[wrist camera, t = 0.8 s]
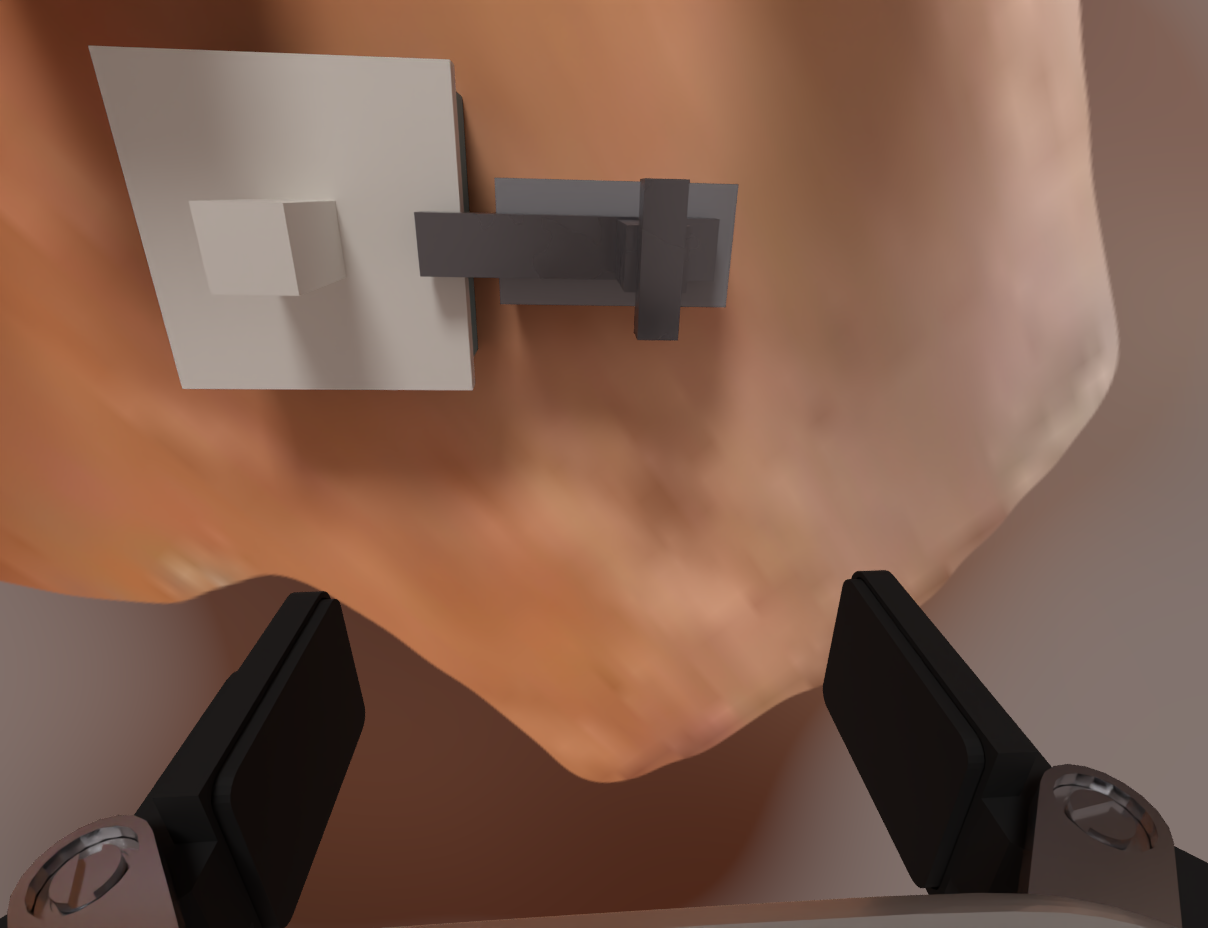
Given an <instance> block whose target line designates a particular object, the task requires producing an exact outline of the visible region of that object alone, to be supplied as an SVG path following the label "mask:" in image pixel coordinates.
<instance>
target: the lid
mask: <svg viewBox="0 0 1208 928" xmlns="http://www.w3.org/2000/svg"><path fill="white" fill-rule="evenodd" d="M88 47H89V51H90V55H91V58H92V62H93V65H94V69H95V73H96V76H97V80H98V84H99V87H100V91H101V95H102V98H103V102H104V105H105V109H106V113H107V116H108V120H109V124H110V127H111V131H112V135H113V138H114V142H115V145H116V149H117V153H118V156H119V160H120V164H121V167H122V171H123V175H124V178H125V182H126V185H127V189H128V193H129V196H130V200H131V204H132V207H133V211H134V215H135V218H136V222H137V225H138V229H139V233H140V236H141V240H142V244H143V247H144V251H145V255H146V258H147V262H148V265H149V269H150V273H151V276H152V280H153V284H154V287H155V291H156V295H157V298H158V302H159V305H160V309H161V313H162V316H163V320H164V324H165V327H166V331H167V335H168V338H169V342H170V345H171V349H172V353H173V356H174V360H175V364H176V367H177V371H178V375H179V378H180V382H181V385H182V389H315V390H473V388H474V386H475V370H474V355H473V340H472V325H471V310H470V295H469V280H468V277H420V269H419V259H418V249H417V239H416V228H415V218H414V212H418V211H437V212H464V205H463V190H462V175H461V160H460V145H459V130H458V115H457V100H456V85H455V70H454V64H453V63H452V62H451V61H450V60H446V59H421V58H395V57H369V56H344V55H318V54H292V53H267V52H241V51H215V50H190V49H164V48H138V47H113V46H88Z"/></svg>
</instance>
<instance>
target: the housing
mask: <svg viewBox="0 0 1208 928" xmlns="http://www.w3.org/2000/svg"><path fill="white" fill-rule="evenodd" d="M456 100H457V115H458V130H459V145H460V160H461V175H462V190H463V205H464V212H469V198H468V182H467V166H466V150H465V134H464V118H463V103H462V96H461V95H459V94H458V93H457V92H456ZM737 193H738V184H707V183H690V184H689V197H688V210H687V217H692V218H716V219H720V222H719V233H718V243H717V254H716V264H715V275H714V282H713V281H687V290H686V293H681V304H680V307H726V298H727V289H728V279H729V269H730V260H731V250H732V241H733V231H734V222H735V212H736V203H737ZM495 197H496V213H522V214H565V215H607V216H639V201H640V182H633V181H596V180H559V179H522V178H495ZM468 280H469V295H470V310H471V325H472V340H473V355H475V353H476V352H477V350H478V340H477V324H476V309H475V293H474V277H468ZM499 283H500V304H528V305H598V306H635V292H624V291H623V289H622V288H621V286H620V284H619V282H618V281H617V280H595V279H536V278H499Z"/></svg>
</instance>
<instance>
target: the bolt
mask: <svg viewBox="0 0 1208 928" xmlns="http://www.w3.org/2000/svg"><path fill="white" fill-rule="evenodd" d="M689 184H690V180H686V179H649V178H644V179H640V201H639V216H607V215H565V214H522V213H479V212H437V211H418V212H414V218H415V228H416V239H417V249H418V259H419V269H420V277H476V278H536V279H595V280H617V281H618V282H619V284H620V286H621V288H622V289H623V291H624V292H635V315H634V334H635V336H636V338H637V340H678V331H679V318H680V304H681V293H686V290H687V281H713V282H714V275H715V264H716V254H717V243H718V233H719V222H720V219H716V218H692V217H687V210H688V197H689Z"/></svg>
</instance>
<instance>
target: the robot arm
mask: <svg viewBox="0 0 1208 928" xmlns="http://www.w3.org/2000/svg"><path fill="white" fill-rule="evenodd" d="M823 696H824V700H825V704H826V706H827V708H828V710H829V712H830V715H831V716H832V718H833V721H834V723H835V725H836V727H837V729H838V731H839V733H840V735H841V737H842V739H843V741H844V743H845V745H846V747H847V749H848V751H849V753H850V755H851V757H852V759H853V761H854V763H855V765H856V767H857V769H858V771H859V773H860V775H861V777H862V779H863V781H864V783H865V785H866V788H867V789H868V791H869V793H870V796H871V798H872V800H873V802H874V804H875V806H876V808H877V810H878V812H879V814H880V816H881V818H882V820H883V822H884V824H885V826H886V828H887V830H888V832H889V834H890V836H891V838H892V840H893V842H894V844H895V846H896V848H897V850H898V852H899V854H900V857H901V859H902V861H903V863H904V865H905V867H906V869H907V871H908V873H909V875H910V877H911V878H912V880H913V882H914V883H915V884H916V885H917V886H918V887H920V888H926V890H927V892H928V894H929V895H910V896H884V897H865V898H847V899H830V900H812V901H795V902H778V903H761V904H742V905H725V906H709V907H694V908H678V909H661V910H645V911H629V912H614V913H599V914H582V915H566V916H551V917H536V918H520V919H506V920H491V921H477V922H462V923H450V924H449V923H448V924H434V925H419V926H405V927H391V928H1208V863H1207V862H1205V861H1203V860H1201V859H1199V858H1197V857H1195V856H1193V855H1191V854H1189V853H1187V852H1185V851H1183V850H1181V849H1179V848H1177V847H1175V846H1174V842H1173V839H1172V835H1171V832H1170V830H1169V827H1168V825H1167V824H1166V823H1165V821H1164V819H1163V818H1162V817H1161V815H1160V814H1159V812H1158V811H1157V810H1156V809H1155V808H1154V807H1153V806H1152V805H1151V804H1150V803H1149V802H1148V801H1147V800H1146V799H1145V798H1144V797H1143V796H1142V795H1140V794H1139V793H1137V792H1136V791H1134V790H1133V789H1132V788H1130V787H1129V786H1127V785H1126V784H1125V783H1123V782H1121V781H1119V780H1117V779H1115V778H1113V777H1111V776H1109V775H1107V774H1106V773H1103V772H1100V771H1097V770H1094V769H1091V768H1088V767H1085V766H1079V765H1071V764H1064V765H1058V766H1053V767H1051V766H1050V764H1049V763H1048V762H1047V761H1046V760H1045V758H1044V757H1043V756H1042V755H1041V753H1040V752H1039V751H1038V750H1037V749H1036V748H1035V746H1034V745H1033V744H1032V743H1031V741H1030V740H1029V739H1028V738H1027V737H1026V735H1025V734H1024V733H1023V732H1022V731H1021V729H1020V728H1019V727H1018V726H1017V724H1016V723H1015V722H1014V721H1013V720H1012V718H1011V717H1010V716H1009V715H1008V714H1007V713H1006V711H1005V710H1004V709H1003V708H1002V706H1001V705H1000V704H999V703H998V701H997V700H996V699H995V698H994V697H993V695H992V694H991V693H990V692H989V691H988V689H987V688H986V687H985V686H984V685H983V683H982V682H981V681H980V680H979V678H978V677H977V676H976V675H975V674H974V672H973V671H972V670H971V669H970V668H969V666H968V665H967V664H966V663H965V662H964V660H963V659H962V658H961V657H960V655H959V654H958V653H957V652H956V651H955V649H954V648H953V647H952V646H951V645H950V644H949V642H948V641H947V640H946V639H945V637H944V636H943V635H942V634H941V633H940V631H939V630H938V629H937V628H936V626H935V625H934V624H933V623H932V622H931V621H930V619H929V618H928V617H927V616H926V614H925V613H924V612H923V611H922V610H921V608H920V607H919V606H918V605H917V603H916V602H915V601H914V600H913V599H912V597H911V596H910V595H909V594H908V593H907V591H906V590H905V589H904V588H903V587H902V585H901V584H900V583H899V582H898V580H897V579H896V578H895V577H894V576H893V574H891V573H890V572H889V571H886V570H878V571H857V572H855V573H854V574H853V576H852V578H851V579H847V580H845V582H844V584H843V587H842V592H841V597H840V602H839V607H838V612H837V617H836V622H835V627H834V632H833V638H832V643H831V648H830V653H829V658H828V663H827V668H826V673H825V678H824V683H823ZM364 721H365V706H364V702H363V697H362V693H361V689H360V685H359V681H358V677H357V672H356V668H355V664H354V660H353V656H352V651H351V647H350V643H349V639H348V635H347V631H346V626H345V622H344V618H343V614H342V609H341V605H340V602H339V601H338V600H337V599H331V598H330V596H329V594H328V593H327V592H325V591H320V592H294V593H292V594H290V595H289V596H288V597H287V599H286V600H285V602H284V603H283V605H282V606H281V607H280V609H279V610H278V612H277V613H276V615H275V616H274V618H273V619H272V621H271V622H270V624H269V625H268V627H267V628H266V630H265V631H264V633H263V634H262V636H261V637H260V639H259V640H258V641H257V643H256V645H255V646H254V648H253V649H252V650H251V652H250V653H249V655H248V656H247V658H246V659H245V661H244V662H243V664H242V665H241V667H240V668H239V670H238V671H236V672H234V673H233V674H232V675H231V676H230V677H229V678H228V679H227V680H226V682H225V683H224V685H223V686H222V687H221V689H220V690H219V692H218V694H217V695H216V696H215V698H214V699H213V701H212V702H211V704H210V705H209V706H208V708H207V709H206V711H205V712H204V714H203V715H202V717H201V718H200V720H199V721H198V723H197V724H196V726H195V727H194V728H193V730H192V731H191V733H190V734H189V736H188V737H187V739H186V740H185V742H184V743H183V745H182V746H181V747H180V749H179V750H178V752H177V753H176V755H175V756H174V758H173V759H172V761H171V762H170V764H169V765H168V766H167V768H166V769H165V771H164V772H163V774H162V775H161V777H160V778H159V780H158V781H157V782H156V784H155V785H154V787H153V788H152V790H151V792H150V793H149V794H148V796H147V797H146V798H145V800H144V802H143V803H142V804H141V806H140V807H139V809H138V810H137V812H136V813H135V815H117V816H112V817H108V818H104V819H99V820H97V821H95V822H92V823H90V824H88V825H85V826H83V827H81V828H79V829H77V830H75V831H74V832H72V833H70V834H69V835H67V836H66V837H64V838H62V839H61V840H59V841H57V842H56V843H55V844H54V845H53V846H52V847H50V848H49V849H48V850H47V851H45V852H44V853H43V854H42V855H41V856H39V857H38V858H37V859H36V860H35V862H34V863H33V864H32V865H31V866H30V867H29V868H28V870H27V871H26V872H25V873H24V874H23V875H22V876H21V878H20V880H19V882H18V883H17V885H16V887H15V889H14V890H13V892H12V894H11V896H10V901H9V906H8V911H7V915H5V916H4V917H2V918H0V928H285V927H286V926H287V925H288V923H289V922H290V920H291V918H292V915H293V913H294V910H295V908H296V905H297V903H298V900H299V897H300V895H301V892H302V889H303V887H304V884H305V881H306V879H307V876H308V873H309V871H310V868H311V865H312V863H313V860H314V857H315V854H316V852H317V849H318V846H319V844H320V841H321V839H322V836H323V833H324V831H325V828H326V825H327V823H328V820H329V817H330V815H331V812H332V809H333V807H334V804H335V801H336V799H337V795H338V793H339V790H340V788H341V785H342V783H343V780H344V777H345V775H346V772H347V769H348V766H349V764H350V761H351V759H352V756H353V753H354V750H355V747H356V745H357V742H358V740H359V737H360V735H361V732H362V729H363V726H364Z"/></svg>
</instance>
